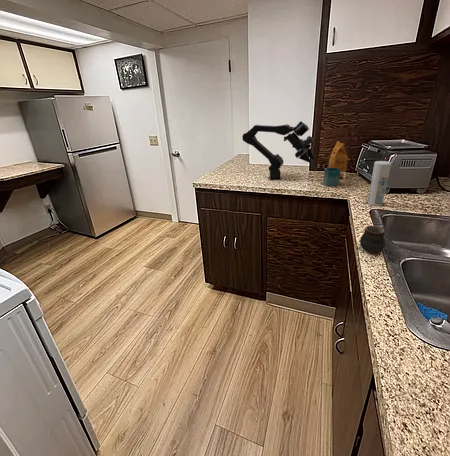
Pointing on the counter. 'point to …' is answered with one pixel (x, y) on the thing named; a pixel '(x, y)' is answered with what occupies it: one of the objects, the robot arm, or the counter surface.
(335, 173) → the mug
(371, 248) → the mate gourd
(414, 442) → the counter surface
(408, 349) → the counter surface
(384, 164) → the spray can
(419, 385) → the counter surface
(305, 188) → the counter surface
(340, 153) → the coffee package
